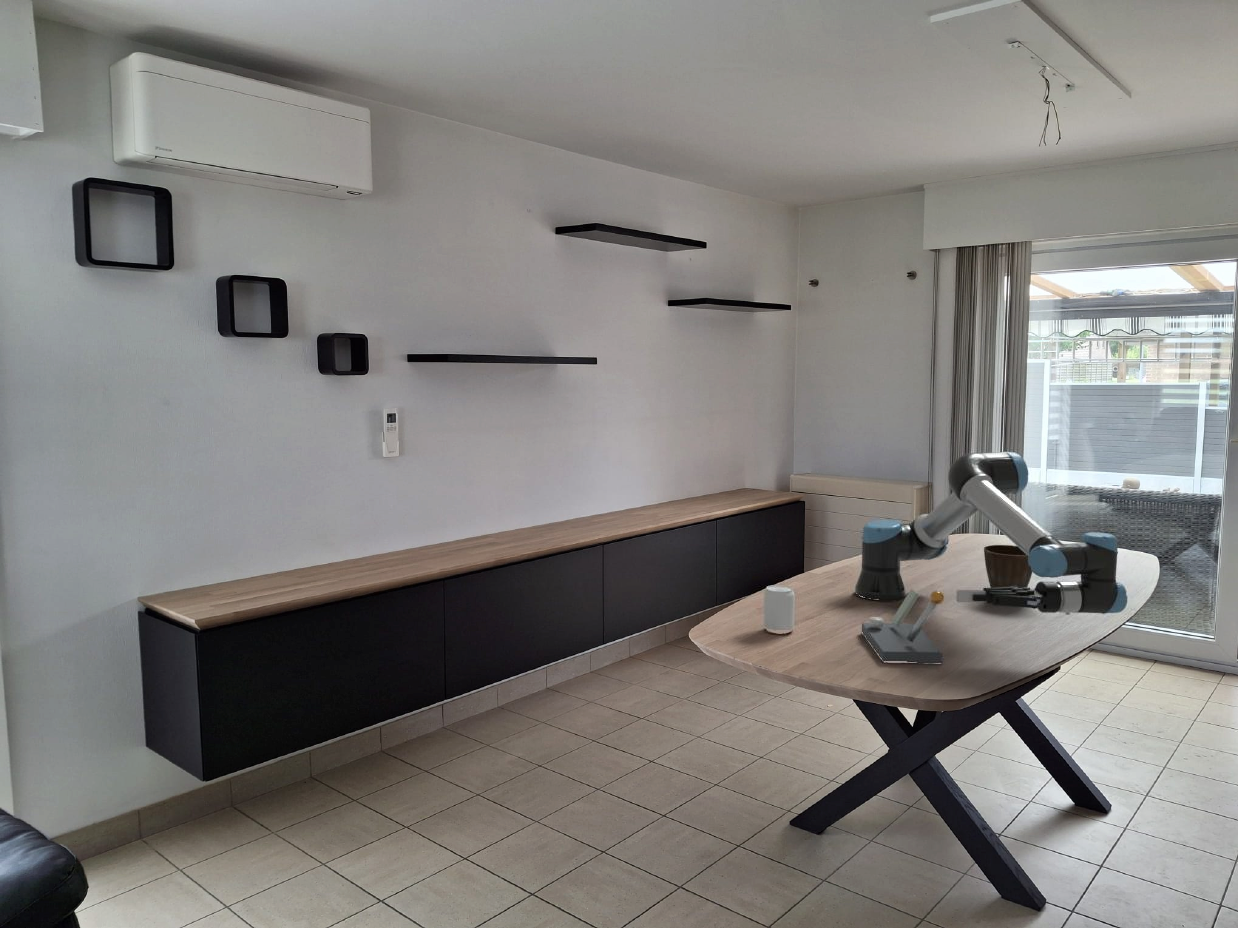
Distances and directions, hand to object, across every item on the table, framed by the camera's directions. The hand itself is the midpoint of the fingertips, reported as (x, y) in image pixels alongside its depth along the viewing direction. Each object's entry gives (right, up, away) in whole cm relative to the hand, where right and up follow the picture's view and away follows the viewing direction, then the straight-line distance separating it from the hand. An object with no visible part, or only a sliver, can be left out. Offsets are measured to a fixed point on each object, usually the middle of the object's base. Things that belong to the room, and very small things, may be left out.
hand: (957, 596), depth 214 cm
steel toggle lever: (-12, -12, +2) cm, 17 cm away
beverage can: (-40, -13, +24) cm, 48 cm away
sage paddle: (-11, -11, +16) cm, 22 cm away
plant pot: (+37, -10, +55) cm, 67 cm away
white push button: (-15, -11, +17) cm, 25 cm away
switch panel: (-11, -15, +10) cm, 21 cm away
